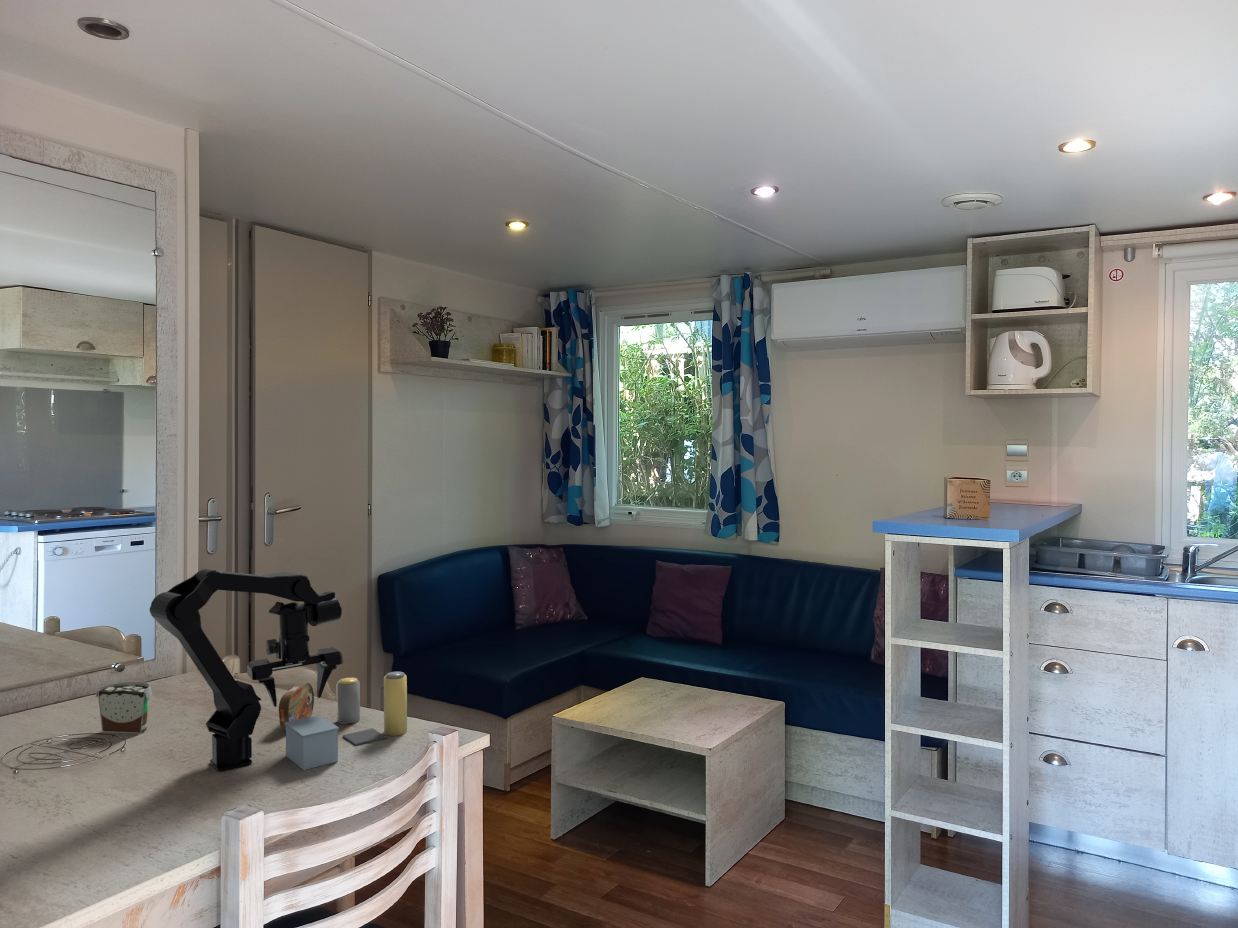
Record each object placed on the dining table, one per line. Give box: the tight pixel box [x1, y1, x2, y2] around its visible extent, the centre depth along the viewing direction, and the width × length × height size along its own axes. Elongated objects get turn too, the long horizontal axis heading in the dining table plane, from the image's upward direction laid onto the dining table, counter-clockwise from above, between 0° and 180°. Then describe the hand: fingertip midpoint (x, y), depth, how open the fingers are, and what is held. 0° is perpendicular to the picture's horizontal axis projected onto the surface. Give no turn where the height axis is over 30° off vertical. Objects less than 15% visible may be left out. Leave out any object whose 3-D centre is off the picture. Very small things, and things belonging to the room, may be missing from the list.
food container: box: [95, 681, 153, 735], centre depth 194 cm, size 12×6×10 cm, turn 84°
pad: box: [342, 727, 387, 746], centre depth 188 cm, size 7×7×1 cm
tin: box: [278, 682, 315, 731], centre depth 198 cm, size 15×3×8 cm, turn 179°
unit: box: [284, 714, 340, 771], centre depth 176 cm, size 7×10×7 cm
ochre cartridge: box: [383, 671, 408, 736], centre depth 192 cm, size 5×5×13 cm
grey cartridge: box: [336, 677, 361, 725], centre depth 200 cm, size 5×5×10 cm
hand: (297, 701), depth 185 cm, fingers open, 9 cm apart
